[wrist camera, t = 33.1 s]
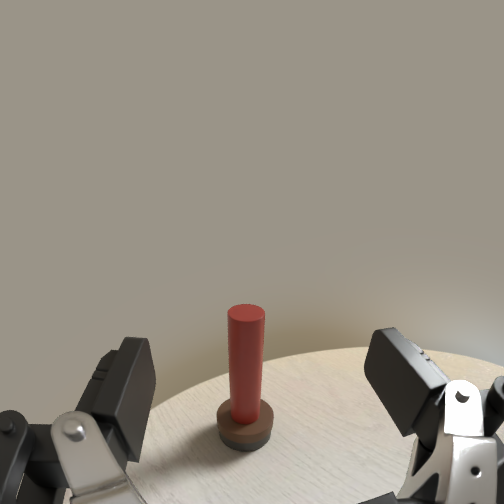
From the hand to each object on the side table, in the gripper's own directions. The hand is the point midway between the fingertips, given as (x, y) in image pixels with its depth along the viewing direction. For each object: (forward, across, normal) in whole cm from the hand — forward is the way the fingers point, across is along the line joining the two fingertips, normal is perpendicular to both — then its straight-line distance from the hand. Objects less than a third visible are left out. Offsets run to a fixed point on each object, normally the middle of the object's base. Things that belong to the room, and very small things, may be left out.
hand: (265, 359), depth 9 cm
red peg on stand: (+10, 0, +17) cm, 20 cm away
